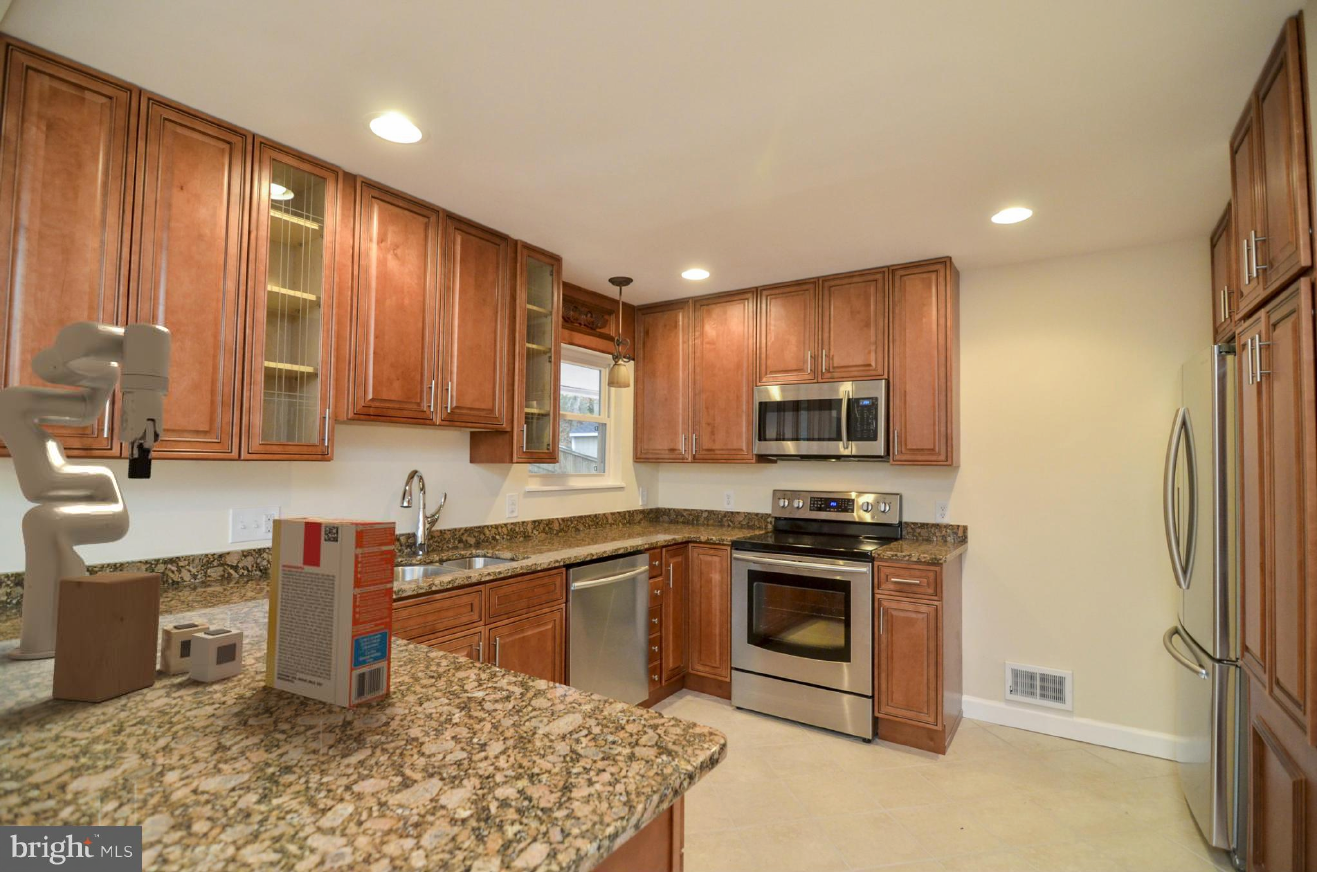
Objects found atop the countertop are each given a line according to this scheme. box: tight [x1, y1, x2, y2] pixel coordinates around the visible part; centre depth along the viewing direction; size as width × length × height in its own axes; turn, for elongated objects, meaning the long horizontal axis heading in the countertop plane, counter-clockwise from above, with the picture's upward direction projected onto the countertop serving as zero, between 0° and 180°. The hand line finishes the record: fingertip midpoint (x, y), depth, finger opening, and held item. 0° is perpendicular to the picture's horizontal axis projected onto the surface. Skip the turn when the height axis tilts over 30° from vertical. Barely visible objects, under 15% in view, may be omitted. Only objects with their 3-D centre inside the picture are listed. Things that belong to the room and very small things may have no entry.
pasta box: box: [264, 516, 397, 709], centre depth 114 cm, size 23×8×30 cm, turn 63°
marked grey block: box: [188, 627, 244, 684], centre depth 120 cm, size 6×6×8 cm
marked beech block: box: [159, 621, 210, 676], centre depth 124 cm, size 6×6×8 cm
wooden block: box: [51, 570, 162, 703], centre depth 111 cm, size 10×10×20 cm
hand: (139, 478), depth 125 cm, fingers closed
